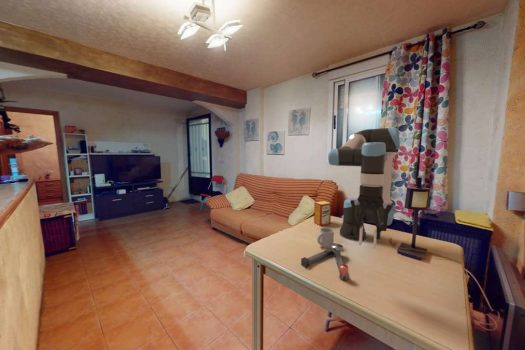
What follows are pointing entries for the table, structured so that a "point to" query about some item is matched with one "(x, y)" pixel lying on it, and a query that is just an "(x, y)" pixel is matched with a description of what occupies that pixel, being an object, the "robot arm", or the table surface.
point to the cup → (326, 237)
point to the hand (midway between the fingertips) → (367, 245)
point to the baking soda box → (322, 213)
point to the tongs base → (317, 257)
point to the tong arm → (340, 261)
